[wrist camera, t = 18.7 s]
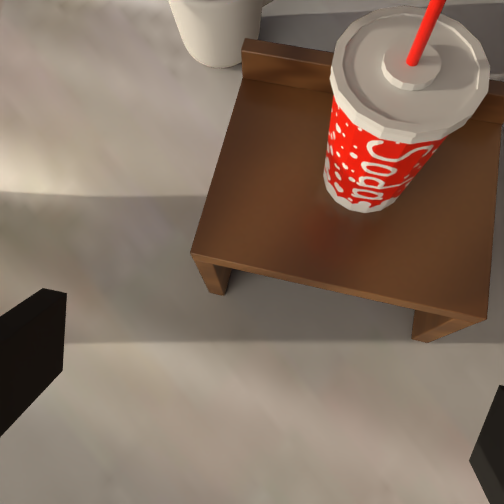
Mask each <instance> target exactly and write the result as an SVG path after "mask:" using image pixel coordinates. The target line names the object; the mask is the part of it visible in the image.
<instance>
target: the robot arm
mask: <svg viewBox="0 0 504 504" xmlns="http://www.w3.org/2000/svg"><path fill="white" fill-rule="evenodd" d="M66 301H67V293H63V292H59V291H54V290H49V289H45V288H42V289H41V290H39V291H38V292H36V293H35V294H33V295H32V296H30V297H29V298H27V299H26V300H24V301H23V302H21V303H20V304H18V305H17V306H15V307H14V308H12V309H11V310H9V311H8V312H6V313H5V314H3V315H2V316H0V437H1V436H2V435H3V434H4V432H5V431H6V430H7V429H8V428H9V427H10V426H11V425H12V424H13V423H14V422H15V421H16V420H17V419H18V418H19V417H20V415H21V414H22V413H23V412H24V411H25V410H26V409H27V408H28V407H29V406H30V405H31V404H32V403H33V402H34V401H35V399H36V398H37V397H38V396H39V395H40V394H41V393H42V392H43V391H44V390H45V389H46V388H47V387H48V386H49V385H50V384H51V382H52V381H53V380H54V379H55V378H56V377H57V376H58V375H59V374H60V373H61V372H62V371H63V353H64V336H65V318H66ZM469 462H470V464H471V466H472V468H473V470H474V472H475V474H476V476H477V478H478V480H479V482H480V484H481V486H482V488H483V491H484V493H485V495H486V497H487V499H488V501H489V503H490V504H504V386H502V385H499V387H498V390H497V392H496V395H495V397H494V400H493V402H492V405H491V407H490V410H489V412H488V415H487V417H486V420H485V422H484V425H483V427H482V430H481V432H480V435H479V437H478V440H477V442H476V445H475V447H474V450H473V452H472V454H471V457H470V459H469Z"/></svg>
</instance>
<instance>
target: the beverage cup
mask: <svg viewBox="0 0 504 504" xmlns="http://www.w3.org/2000/svg"><path fill="white" fill-rule="evenodd" d="M445 2H446V0H430V2H429V5H428V7H427V9H424V8H418V7H411V6H405V5H404V6H398V7H391V8H384V9H378V10H375V11H373V12H371V13H369V14H367V15H365V16H363V17H361V18H359V19H358V20H356V21H354V22H352V23H351V25H350V26H349V27H348V28H347V30H346V31H345V32H344V33H343V34H342V36H341V37H340V38H339V39H338V40H337V43H336V47H335V52H334V56H333V61H332V65H331V75H330V82H331V86H332V90H333V93H334V95H333V103H332V111H331V119H330V127H329V135H328V142H327V150H326V158H325V166H324V174H323V177H324V181H325V185H326V189H327V191H328V192H329V193H330V195H331V196H332V197H333V199H334V200H335V201H336V202H337V203H339V204H340V205H342V206H344V207H345V208H347V209H348V210H352V211H357V212H362V213H369V212H375V211H381V210H383V209H384V208H386V207H387V206H389V205H391V204H392V203H394V202H395V200H396V199H397V198H398V197H399V195H400V194H401V193H402V192H403V191H404V189H405V188H406V187H407V186H408V184H409V183H410V182H411V181H412V179H413V178H414V177H415V176H416V174H417V173H418V172H419V171H420V169H421V168H422V167H423V166H424V165H425V163H426V162H427V161H428V160H429V158H430V157H431V156H432V155H433V153H434V152H435V151H436V150H437V148H438V147H439V146H440V145H441V144H442V142H443V141H444V140H445V139H446V137H447V136H448V135H449V134H451V133H452V132H454V131H456V130H457V129H459V128H461V127H462V126H464V125H465V123H466V122H467V120H468V119H469V118H471V116H472V115H473V114H474V112H475V111H476V109H477V108H478V106H479V105H480V103H481V102H482V100H483V99H484V97H485V96H486V94H487V92H488V88H489V76H490V65H489V62H488V60H487V57H486V55H485V53H484V50H483V48H482V45H481V43H480V42H479V41H478V40H477V39H476V38H475V37H474V36H473V35H472V34H471V33H470V32H469V31H468V30H467V29H466V28H465V27H464V26H463V25H462V24H461V23H460V22H458V21H456V20H454V19H452V18H449V17H447V16H445V15H443V14H441V11H442V9H443V6H444V4H445Z"/></svg>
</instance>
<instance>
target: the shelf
mask: <svg viewBox="0 0 504 504" xmlns="http://www.w3.org/2000/svg"><path fill="white" fill-rule="evenodd" d="M333 56H334V53H332V52H326V51H320V50H314V49H308V48H302V47H297V46H291V45H285V44H279V43H273V42H267V41H261V40H256V39H250V38H245V39H244V42H243V45H242V48H241V58H242V73H243V79H242V82H241V86H240V89H239V92H238V96H237V99H236V102H235V105H234V109H233V112H232V115H231V119H230V122H229V125H228V129H227V132H226V135H225V139H224V142H223V145H222V149H221V152H220V155H219V158H218V162H217V165H216V168H215V172H214V175H213V178H212V182H211V185H210V188H209V192H208V195H207V198H206V202H205V205H204V208H203V211H202V215H201V218H200V221H199V225H198V228H197V231H196V235H195V238H194V241H193V245H192V248H191V251H190V254H191V256H192V258H193V260H194V261H195V263H196V266H197V268H198V270H199V272H200V274H201V276H202V278H203V280H204V282H205V284H206V286H207V288H208V291H209V292H210V293H214V294H218V295H223V296H224V295H225V292H226V288H227V285H228V281H229V277H230V273H231V270H232V268H233V269H237V270H242V271H246V272H251V273H255V274H259V275H264V276H268V277H273V278H277V279H282V280H286V281H291V282H295V283H299V284H304V285H308V286H313V287H317V288H322V289H326V290H331V291H335V292H339V293H344V294H348V295H353V296H357V297H362V298H366V299H371V300H375V301H379V302H384V303H388V304H393V305H397V306H402V307H406V308H411V309H415V313H414V321H413V329H412V337H411V339H412V340H417V341H421V342H425V343H429V342H431V341H434V340H436V339H439V338H441V337H444V336H446V335H449V334H451V333H453V332H456V331H458V330H461V329H463V328H466V327H468V326H471V325H473V324H476V323H479V322H481V321H484V320H486V319H487V312H488V299H489V286H490V273H491V260H492V246H493V233H494V220H495V207H496V194H497V181H498V168H499V154H500V141H501V128H502V124H503V123H504V82H502V81H496V80H490V79H489V88H488V92H487V94H486V96H485V97H484V99H483V100H482V102H481V103H480V105H479V106H478V108H477V109H476V111H475V112H474V114H473V115H472V116H471V118H469V119H468V120H467V122H466V123H465V125H464V126H462V127H461V128H459V129H457V130H456V131H454V132H452V133H451V134H449V135H448V136H447V137H446V139H445V140H444V141H443V142H442V144H441V145H440V146H439V147H438V148H437V150H436V151H435V152H434V153H433V155H432V156H431V157H430V158H429V160H428V161H427V162H426V163H425V165H424V166H423V167H422V168H421V169H420V171H419V172H418V173H417V174H416V176H415V177H414V178H413V179H412V181H411V182H410V183H409V184H408V186H407V187H406V188H405V189H404V191H403V192H402V193H401V194H400V195H399V197H398V198H397V199H396V200H395V202H394V203H392V204H391V205H389V206H387V207H386V208H384V209H383V210H381V211H375V212H369V213H362V212H357V211H352V210H348V209H347V208H345V207H344V206H342V205H340V204H339V203H337V202H336V201H335V200H334V199H333V197H332V196H331V195H330V193H329V192H328V191H327V189H326V185H325V181H324V177H323V174H324V166H325V158H326V150H327V142H328V135H329V127H330V119H331V111H332V103H333V95H334V93H333V90H332V86H331V82H330V75H331V65H332V61H333Z"/></svg>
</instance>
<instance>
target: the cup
mask: <svg viewBox="0 0 504 504" xmlns="http://www.w3.org/2000/svg"><path fill="white" fill-rule="evenodd" d="M168 1H169V4H170V7H171V10H172V12H173V15H174V18H175V21H176V24H177V26H178V29H179V32H180V35H181V37H182V40H183V42H184V45H185V47H186V49H187V50H188V52H189V53H190V55H191V56H192V57H193V58H194V59H195V60H197V61H198V62H200V63H201V64H203V65H206V66H209V67H213V68H227V67H231V66H234V65H237V64H239V63H241V62H242V58H241V48H242V45H243V42H244V39H245V38H250V39H256V40H258V36H259V30H260V22H261V13H262V7H263V6H265V5H267V4H268V3H270V2H272V1H273V0H168Z"/></svg>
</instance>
